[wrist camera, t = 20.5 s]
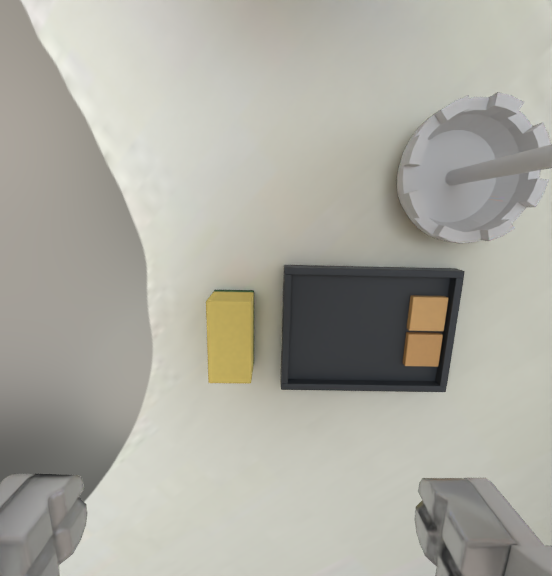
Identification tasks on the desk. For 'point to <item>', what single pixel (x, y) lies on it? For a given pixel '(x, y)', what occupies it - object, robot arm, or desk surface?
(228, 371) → the sponge
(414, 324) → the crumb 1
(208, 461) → the desk surface
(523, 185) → the flag stand
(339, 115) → the desk surface
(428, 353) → the crumb
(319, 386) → the tray
